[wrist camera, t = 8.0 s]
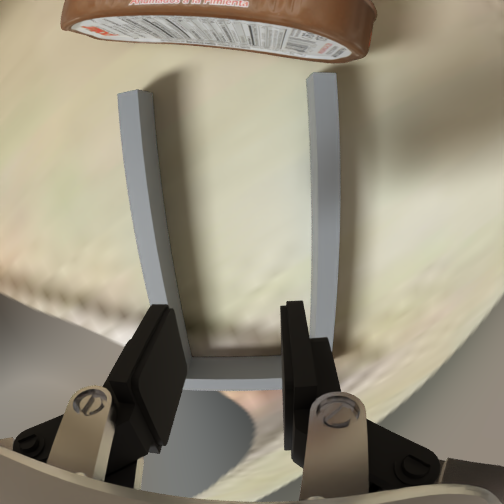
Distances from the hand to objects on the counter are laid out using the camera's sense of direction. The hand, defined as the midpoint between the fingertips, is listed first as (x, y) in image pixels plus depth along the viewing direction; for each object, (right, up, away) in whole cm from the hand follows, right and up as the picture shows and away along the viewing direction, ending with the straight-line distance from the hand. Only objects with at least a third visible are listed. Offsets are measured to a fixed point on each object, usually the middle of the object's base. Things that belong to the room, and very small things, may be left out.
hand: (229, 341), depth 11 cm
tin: (-1, +16, +5) cm, 17 cm away
